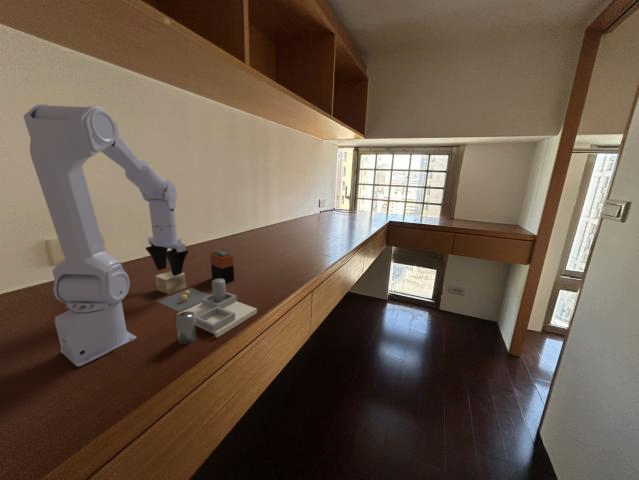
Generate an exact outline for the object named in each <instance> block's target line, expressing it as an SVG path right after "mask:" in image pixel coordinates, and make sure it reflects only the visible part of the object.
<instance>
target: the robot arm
mask: <svg viewBox="0 0 639 480" xmlns="http://www.w3.org/2000/svg"><path fill="white" fill-rule="evenodd" d="M23 120H24V123H25V126H26V129H27V132H28V134H29V138H30V140H29V141H30V142H29V143H30V144H29V154H30V158H31V160H32V164H33V166H34V170H35V173H36V176H37V179H38V181H39V184H40V189H41V191H42V193H43V197H44V200H45V204H46V205H47V210H48V212H49V216H50V218H51V220H52V221H51V222H52V224H53V227H54V231H55V233H56V236H57V239H58V243H59V245H60V247H61V252H62V254H63V258H64V259H63V260H62V261H61V262H59V263H58V264H57V265H56V266H55V267H54V268H53V269H52V275H53V279H54V280H53V281H54V282H53V287H52V288H53V294H54V297H55V299H56V300H57V301H59V302H61V303H65V304H66V305H65V306H66V308H67V309H69V310H67V311H65V312H64V313H61V314H59V315H57V316H55V317H54V325H55V328H56V329H55V330H56V332H57V337H58V340H59V345H60V349H61V350H60V352H61V354H63V355H64V356H65V357H66V358H67V359H68V360H69V361H70V362H71V363H72V364H73V365H74V366H75V367H79V368H80V367H82V366H85V364H88V363H90V362H93V361H94V360H96V359H99V358H101V357H103V356H104V355H107V354H109V353H111V352H113V350H114V349H116V348H117V349H118V348H119V347H120V346H123V345H125V344H127V343H129V342H132V341H133V340H136V339H137V336H136V335H135V334H132V333H131V332H130V331H128V330H127V326H126V319H125V313H124V308H123V300H124V299H125V298H126V296H127V294H128V292H129V291H130V285H131V282H130V277H129V275H128V273H127V272H126V271H125V270H124V268H123V265H122V262H121V261H120V260H119V259H117V258H116V257H114V256H113V255H112V254H109V253H108V252H107V251H106V250H105V246H104V241H103V237H102V234H101V229H100V228H99V227H100V226H99V224H98V219H97V217H96V216H97V215H96V211H95V208H94V205H93V202H92V198H91V193H90V190H89V186H88V183H87V180H86V176H85V172H84V168H83V165H84V164H85V163H86V162H87V161H88V160H89V158H91V157H94V156H95V155H97V154H98V153H100V152H101V153H102V154H104V155H105V156H106V157H108V158H109V159H110V160H112V161H113V162H114V163H115V164H117V165H118V166H120V167H121V168H122V169H123V170H124V171H125V172H124V174H125V177H126V178H127V179H128V181H130V183H132V184H133V185H134V186H136V187H137V188H138V189H139V191H140V193H141V196H142V199H144V201H146V202H148V205H149V206H148V207H149V208H148V209H149V215H150V222H151V232H152V237H147V239H148V240H147V242H148V245H150V246H147V247H145V250H146V251H147V253H148V254H149V256H151V259H152V260H153V263H154V265H155V267H156V270H157V271H161V270H165V269H166V270H167V262H169V265H170V269H171V270H170V271H172V274H173V275H174V276H176V275H179V274H181V273H183V266H184V262H185V260H186V257H187V255H188V254H189V249H187V248H186V243H184V242H182V238H180V237H178V232H177V222H176V211H175V209H176V207H177V199H178V191H177V187H176V185H175V184H174V183H173V182H171V181H170V180H165V179H164V178H163V177H162V175H160V174H159V173H158V172H157V171H156V169H154V167H153V166H152V165H151V164H150V163H149V161H145V160H139V159H138V157H137V156H136V155H135V154H134V152H132V150H131V149H130V148H129V147H128V145H127V144H126V143H125V142H124V141H123V140H122V138H121V137H120V133H119V127H118V124H117V123H116V122H115V120H113V118H112V117H111V115H110V114H109V113H108V112H107V111H106V110H105V109H104V108H102V107H99V106H95V105H93V106H92V105H91V106H69V105H50V104H42V103H41V104H36V105H34V106H33V107H32V108H31V109H29V110H28V111H27V112H26V113H24V114H23ZM168 249H170V250H169V251H168Z"/></svg>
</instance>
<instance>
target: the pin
mask: <svg viewBox="0 0 639 480" xmlns="http://www.w3.org/2000/svg"><path fill="white" fill-rule="evenodd" d="M181 312H182V311H181ZM179 313H180V312H179ZM177 314H178V313H177ZM177 314H176V316H175V321H176V323H175V324H176V330H177V339H178V344H180V345H188V344H191V343H193V342H195V341H196V339H197V334H196V325H195V320H194V313H193V312H190V311H187V312H182V313H180V314H178V315H177Z"/></svg>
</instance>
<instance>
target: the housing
mask: <svg viewBox="0 0 639 480" xmlns="http://www.w3.org/2000/svg"><path fill="white" fill-rule="evenodd" d="M155 280H156V289H157V291H159V292H160V293H161V292H162V293H164V294H166V295H169V296H170V295H172V294H175V293H176V292H177V293H178V292H179V291H183V290H185V289H187V281H186V273H184V272H182V273H181V274H179V275H176V276H174V275H173V274H172V271H171V270H169V271H167V272H163V273H159V274H155Z"/></svg>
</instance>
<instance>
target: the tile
mask: <svg viewBox="0 0 639 480" xmlns="http://www.w3.org/2000/svg"><path fill="white" fill-rule="evenodd" d="M209 295H210V294H209V293H206V292H204V291H201V290H198V289H196V288H193V287H190V288H186V289H183V290H181V291H180V292H179V291H178V292H177V293H176V292H175V293H173V294H170V295H169V296H166V297H164V298H162V299H158V300H156V302H157V303H158V304H161V305H163V306H166V307H168V308H170V309H172V310H174V311H176V312H178V313H180V312H182V311H185V310H187V309H189V308H191V307H193V306H196V305H198V304H200V303H202V299H203V298H205V297H207V296H209Z"/></svg>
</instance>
